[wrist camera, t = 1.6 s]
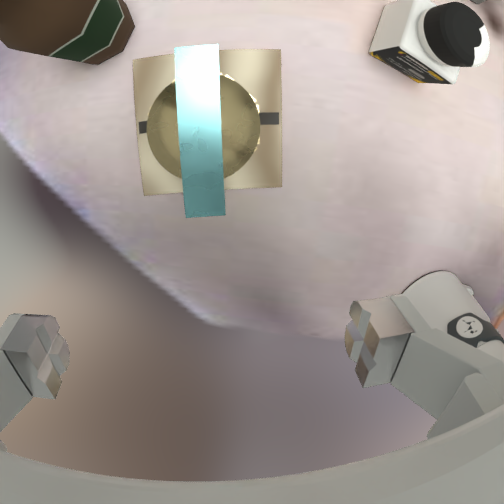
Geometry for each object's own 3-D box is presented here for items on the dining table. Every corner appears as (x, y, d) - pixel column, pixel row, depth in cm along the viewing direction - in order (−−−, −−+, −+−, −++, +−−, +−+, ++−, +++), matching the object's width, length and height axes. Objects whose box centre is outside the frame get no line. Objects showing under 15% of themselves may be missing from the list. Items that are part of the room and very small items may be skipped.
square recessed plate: (278, 51, 27) (291, 40, 21) (279, 183, 33) (291, 202, 27) (136, 61, 26) (116, 53, 20) (147, 191, 32) (131, 212, 26)
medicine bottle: (366, 53, 27) (431, 41, 16) (383, 4, 24) (447, -21, 13) (417, 83, 29) (489, 89, 18) (433, 36, 26) (503, 28, 15)
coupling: (250, 61, 24) (264, 43, 16) (253, 177, 30) (266, 213, 21) (160, 68, 24) (130, 54, 15) (168, 182, 29) (146, 220, 20)
